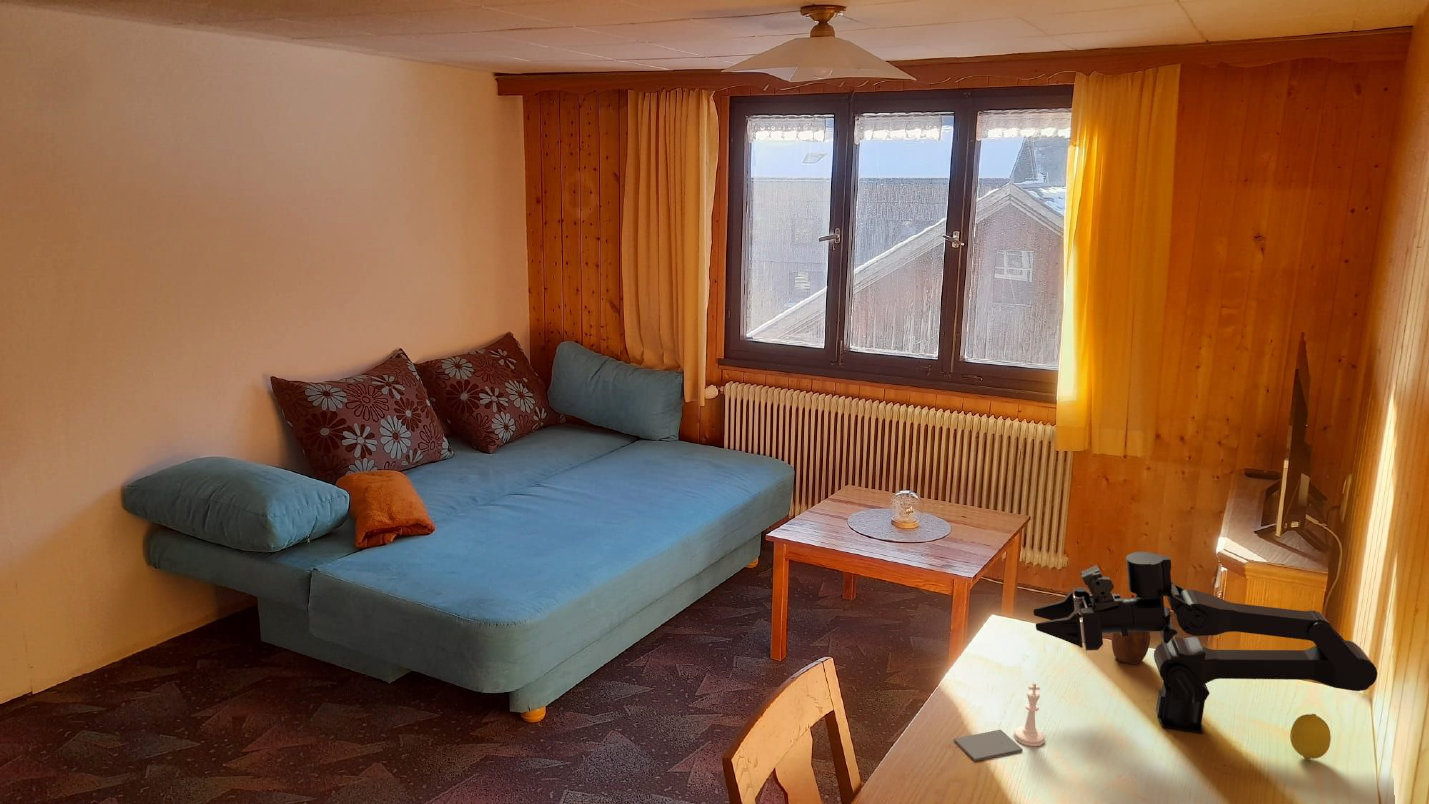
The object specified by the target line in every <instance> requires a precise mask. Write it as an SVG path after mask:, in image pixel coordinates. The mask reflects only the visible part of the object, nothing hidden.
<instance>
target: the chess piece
mask: <svg viewBox="0 0 1429 804" xmlns="http://www.w3.org/2000/svg"><path fill="white" fill-rule="evenodd" d="M1028 690H1029V691H1027V692H1026V696H1027V699H1028V700H1027V701H1028V703H1026V705H1025V709H1026V710H1028V712H1027V716H1026V721H1025V724H1024V725H1022V726H1018V727H1016V728H1015V729H1014V731H1013V738H1014V739H1015V741H1017V742H1018V743H1020V744H1022V745H1025V746H1028V747H1038V746H1041V745H1042V746H1043V744H1044V743H1045V742H1046V741H1045V734H1044V733H1043V731H1042V730H1040V729H1038V728H1037V727H1036V712H1038V711H1039V710H1040V707H1039V705H1037V704H1038V701H1039V699H1040V698H1041V694H1040V692H1038V691H1040V690H1041V686H1040V685H1037V683H1036V682H1032V685H1028Z"/></svg>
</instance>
